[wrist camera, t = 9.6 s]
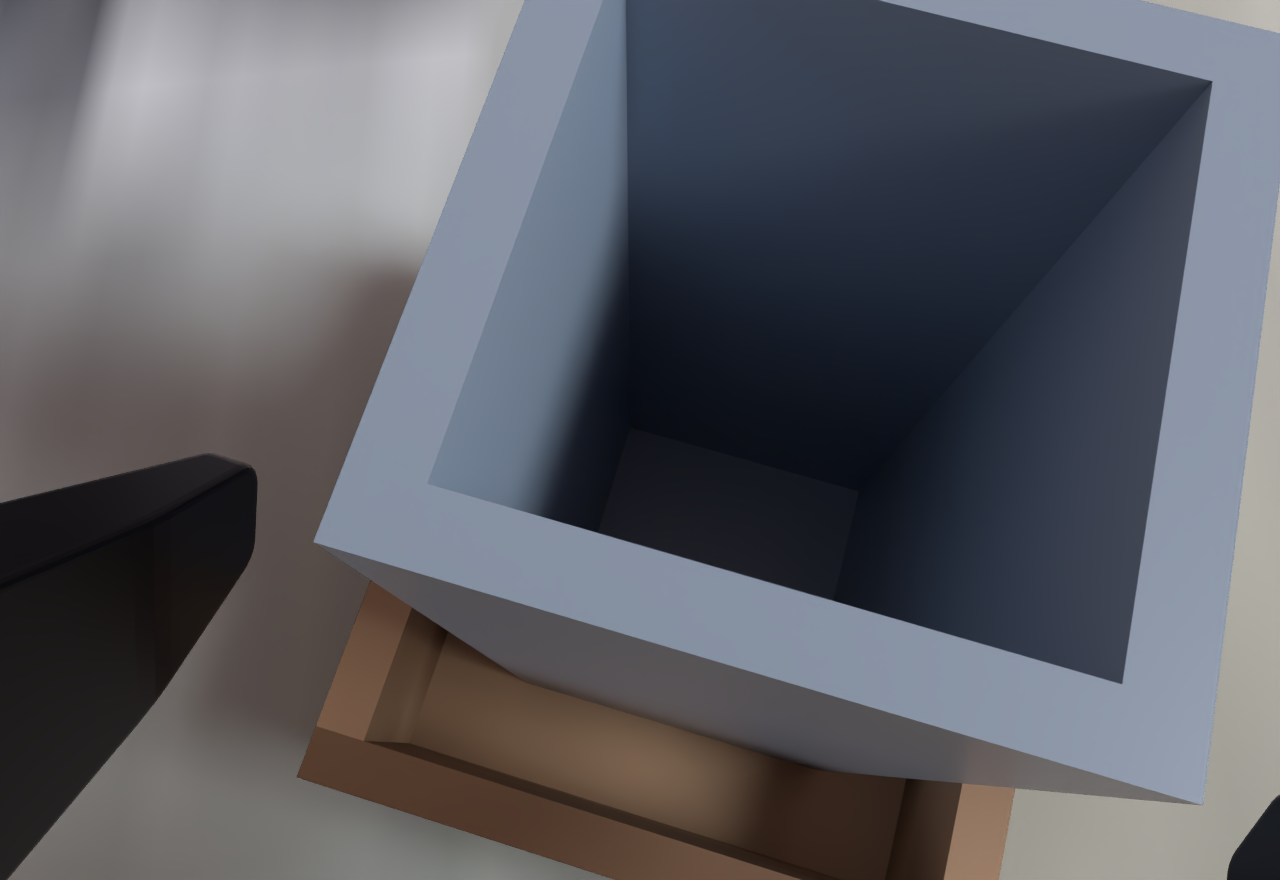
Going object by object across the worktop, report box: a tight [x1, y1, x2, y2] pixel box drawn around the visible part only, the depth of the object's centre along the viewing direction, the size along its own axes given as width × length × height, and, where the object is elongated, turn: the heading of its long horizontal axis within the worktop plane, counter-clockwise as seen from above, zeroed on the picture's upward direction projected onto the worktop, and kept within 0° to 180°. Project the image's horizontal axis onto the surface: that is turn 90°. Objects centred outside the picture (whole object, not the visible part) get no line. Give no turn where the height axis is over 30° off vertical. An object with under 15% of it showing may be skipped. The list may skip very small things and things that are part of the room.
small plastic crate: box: [313, 0, 1280, 805], centre depth 12 cm, size 5×5×12 cm
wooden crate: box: [297, 581, 1015, 880], centre depth 17 cm, size 9×9×4 cm
